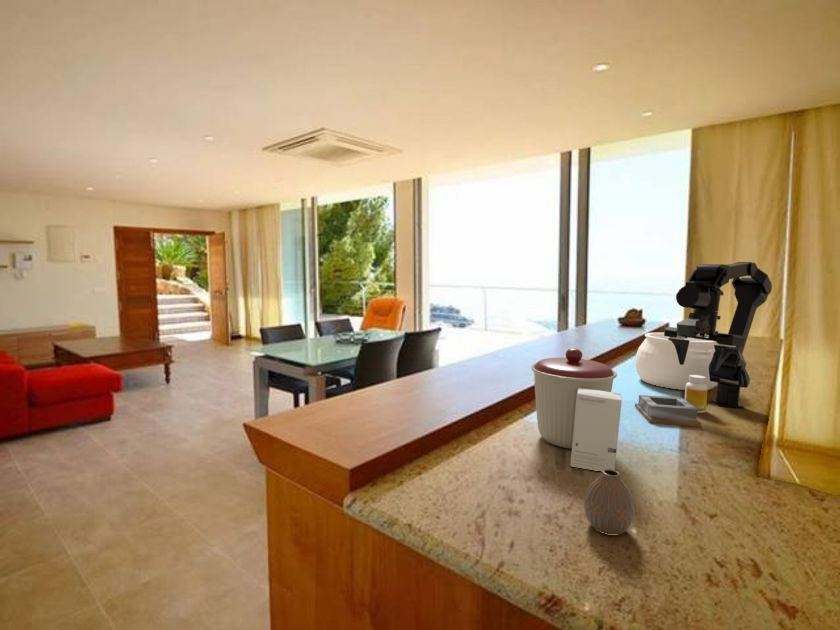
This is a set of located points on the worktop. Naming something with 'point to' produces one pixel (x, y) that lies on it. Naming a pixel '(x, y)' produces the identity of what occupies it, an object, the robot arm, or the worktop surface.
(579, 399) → the skincare box
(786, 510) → the worktop surface
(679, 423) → the socket board
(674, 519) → the worktop surface
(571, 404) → the canister
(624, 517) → the vase
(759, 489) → the worktop surface
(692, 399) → the supplement bottle
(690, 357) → the pot
